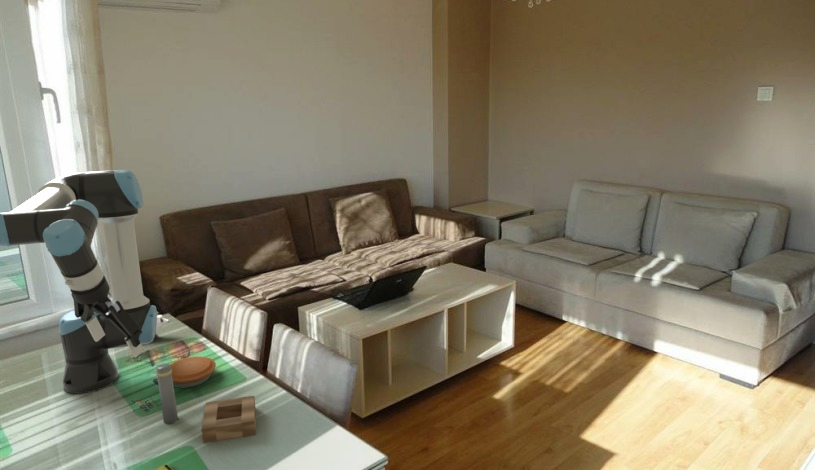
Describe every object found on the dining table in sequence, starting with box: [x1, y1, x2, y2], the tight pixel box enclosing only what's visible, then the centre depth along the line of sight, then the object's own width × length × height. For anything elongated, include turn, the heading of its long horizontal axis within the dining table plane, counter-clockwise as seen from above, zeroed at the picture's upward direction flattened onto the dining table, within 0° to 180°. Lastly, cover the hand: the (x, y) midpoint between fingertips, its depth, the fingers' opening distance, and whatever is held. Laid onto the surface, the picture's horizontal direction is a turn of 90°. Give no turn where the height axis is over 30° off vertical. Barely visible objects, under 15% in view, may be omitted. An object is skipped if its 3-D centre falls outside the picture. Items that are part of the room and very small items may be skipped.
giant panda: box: [151, 312, 170, 343], centre depth 207 cm, size 15×6×10 cm, turn 97°
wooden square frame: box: [201, 395, 257, 444], centre depth 154 cm, size 13×13×4 cm
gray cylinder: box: [155, 363, 179, 425], centre depth 156 cm, size 4×4×16 cm
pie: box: [169, 356, 217, 389], centre depth 179 cm, size 15×16×5 cm
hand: (119, 345), depth 145 cm, fingers open, 13 cm apart
